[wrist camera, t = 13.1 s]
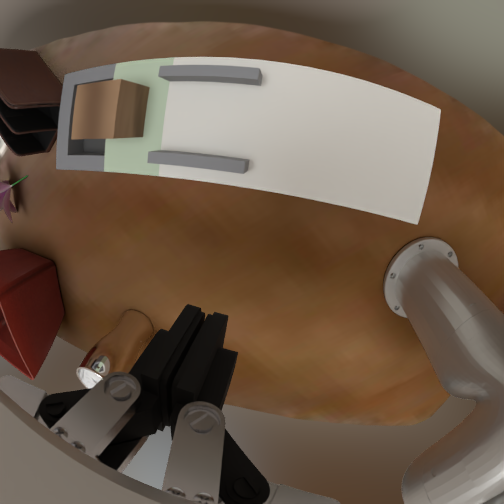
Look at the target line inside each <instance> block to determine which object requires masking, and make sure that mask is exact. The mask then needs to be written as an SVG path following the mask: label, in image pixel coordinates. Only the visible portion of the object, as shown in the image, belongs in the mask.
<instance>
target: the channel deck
mask: <svg viewBox="0 0 504 504" xmlns="http://www.w3.org/2000/svg"><path fill="white" fill-rule="evenodd" d="M117 79H123V80H127V81H130V82H134V83H137V84H141V85H144V86H147V87H150V89H149V95H148V101H147V108H146V116H145V124H144V132H143V137H135V138H117V139H72V140H71V135H72V124H73V114H74V106H75V98H76V92H77V86H78V85H83V84H89V83H95V82H102V81H109V80H117ZM440 113H441V109H438V108H436V107H434V106H432V105H430V104H427V103H425V102H423V101H420V100H418V99H415V98H413V97H410V96H408V95H405V94H403V93H400V92H397V91H395V90H392V89H389V88H386V87H383V86H380V85H377V84H374V83H371V82H367V81H364V80H361V79H357V78H354V77H350V76H346V75H342V74H338V73H334V72H330V71H325V70H321V69H316V68H311V67H305V66H300V65H294V64H288V63H281V62H273V61H265V60H255V59H243V58H226V57H177V58H160V59H148V60H139V61H131V62H123V63H117V64H111V65H105V66H99V67H94V68H90V69H85V70H81V71H76V72H72V73H68V74H65V77H64V83H63V89H62V96H61V103H60V112H59V121H58V134H57V154H56V169H65V170H88V171H105V172H119V173H131V174H143V175H153V176H163V177H172V178H181V179H189V180H197V181H204V182H212V183H219V184H226V185H232V186H239V187H245V188H252V189H258V190H263V191H269V192H275V193H281V194H286V195H291V196H297V197H302V198H307V199H312V200H317V201H322V202H326V203H331V204H336V205H340V206H345V207H349V208H353V209H358V210H362V211H366V212H370V213H374V214H379V215H383V216H386V217H390V218H394V219H398V220H402V221H406V222H409V223H413V224H417V225H418V221H419V218H420V214H421V211H422V207H423V203H424V200H425V196H426V192H427V187H428V183H429V179H430V174H431V169H432V164H433V159H434V154H435V148H436V142H437V136H438V129H439V121H440Z"/></svg>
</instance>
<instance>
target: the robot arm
mask: <svg viewBox="0 0 504 504" xmlns="http://www.w3.org/2000/svg"><path fill="white" fill-rule="evenodd" d="M383 291H384V297H385V299H386V302H387V304H388V305H389V307H390V308H391V310H392V311H393V312H394V313H396V314H397V315H399V316H402V317H405V318H408V319H409V321H410V323H411V325H412V327H413V329H414V330H415V332H416V334H417V336H418V338H419V340H420V342H421V344H422V346H423V348H424V350H425V352H426V354H427V356H428V358H429V360H430V362H431V364H432V366H433V369H434V371H435V373H436V375H437V377H438V379H439V381H440V383H441V385H442V386H443V388H444V389H445V390H446V391H447V392H448V393H449V394H451V395H453V396H455V397H458V398H462V399H470V400H475V401H476V406H475V409H474V410H473V411H472V412H471V413H470V414H469V415H468V416H467V417H466V418H465V419H464V420H463V422H462V423H460V424H459V425H458V426H457V427H455V428H454V429H453V430H452V431H451V432H449V433H448V434H447V435H446V436H444V437H443V438H442V439H440V440H439V441H438V442H436V443H435V444H434V445H432V446H431V447H429V448H428V449H427V450H425V451H424V452H423V453H422V454H420V455H419V456H418V457H417V458H416V459H415V460H414V461H413V462H412V463H411V464H410V466H409V467H408V468H407V470H406V472H405V475H404V477H403V481H402V496H403V500H404V503H405V504H504V315H503V313H502V312H501V311H500V310H499V309H498V308H497V307H496V306H495V305H494V304H493V303H492V302H491V300H490V299H489V298H488V297H487V296H486V295H485V294H484V293H483V292H482V291H481V290H480V289H479V288H478V287H477V286H476V285H475V284H474V283H473V282H472V281H471V280H470V279H469V278H468V277H467V276H466V275H465V274H464V273H463V272H462V271H461V270H460V269H459V268H458V260H457V256H456V254H455V252H454V250H453V249H452V248H451V246H449V245H448V244H447V243H446V242H444V241H443V240H441V239H438V238H435V237H424V238H419V239H417V240H414V241H412V242H410V243H409V244H407V245H406V246H404V247H403V248H402V249H401V250H400V251H399V252H398V253H397V254H396V255H395V257H394V258H393V259H392V261H391V262H390V264H389V266H388V268H387V271H386V273H385V277H384V281H383ZM204 320H205V321H204ZM227 321H228V315H224V314H220V313H217V312H214V314H213V315H211V314H208V315H207V317H206V319H205V313H204V312H201V308H199V307H196V306H192V305H189V304H187V305H186V306H185V308H184V309H183V311H182V312H181V314H180V315H179V317H178V318H177V320H176V321H175V323H174V324H173V326H172V327H171V328H170V330H169V331H166V330H163V329H160V330H159V331H158V332H157V333H156V335H155V336H154V338H153V339H152V340H151V342H150V343H149V345H148V346H147V347H146V349H145V350H144V352H143V353H142V354H141V356H140V357H139V359H138V360H137V362H136V363H135V364H134V366H133V367H132V369H131V370H130V372H129V373H126V372H112V373H109V374H107V375H106V376H105V377H103V378H102V379H101V380H100V381H99V382H98V383H97V384H96V385H95V386H94V387H93V388H89V389H83V390H77V391H71V392H63V393H56V394H51V395H49V394H47V393H46V391H44V390H42V389H39V388H37V387H35V386H32V385H30V384H28V383H26V382H24V381H22V380H19V379H17V378H16V377H14V376H10V375H7V376H4V377H1V378H0V504H340V503H339V502H338V501H337V500H334V499H332V498H328V497H324V496H320V495H316V494H312V493H308V492H305V491H302V490H298V489H295V488H292V487H289V486H285V485H283V484H280V485H277V484H274V483H271V482H269V481H267V480H266V479H265V477H264V476H263V475H262V474H261V473H260V472H259V471H258V469H257V468H256V467H255V466H254V465H253V463H252V462H251V461H250V460H249V459H248V457H247V456H246V455H245V454H244V452H243V451H242V450H241V449H240V448H239V446H238V445H237V444H236V442H235V441H234V440H233V438H232V437H231V436H230V434H229V433H228V432H227V430H226V429H225V424H226V423H225V417H224V415H223V413H222V407H223V404H224V401H225V398H226V395H227V392H228V389H229V385H230V382H231V379H232V375H233V372H234V368H235V364H236V360H237V355H238V352H235V351H231V350H228V349H224V348H223V343H224V338H225V332H226V327H227ZM165 426H171V436H172V445H171V450H170V454H169V459H168V464H167V468H166V472H165V477H164V482H163V487H162V490H159V489H156V488H154V487H152V486H149V485H147V484H144V483H142V482H140V481H137V480H135V479H133V478H131V477H128V476H126V475H124V474H122V472H123V471H124V469H125V468H126V467H127V465H128V464H129V463H130V461H131V460H132V459H133V457H134V456H135V455H136V454H137V452H138V451H139V450H140V448H141V447H142V446H143V444H144V443H145V442H146V440H147V439H148V437H149V435H151V434H155V433H156V431H157V429H158V430H161V431H163V430H164V428H165Z"/></svg>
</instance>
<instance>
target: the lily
mask: <svg viewBox="0 0 504 504" xmlns="http://www.w3.org/2000/svg"><path fill="white" fill-rule="evenodd" d="M26 177H28V176H25V177H23V178H22V179H20V180H19V181H17V182H16V183H14V184H12V185H9V181H2V182H1V181H0V211H1V210H2V209H4V211H5V213H6V215H7V217H8V218H9V220H10V221H11V223H13V222H12V217H11V212H14V213H16V212H17V210H16V208H15V207H14V205H13V204H12V202H11V201H10V191H11V187H12V186H14V185H15V184H17V183H18V182H20V181H21V180H23V179H25V178H26ZM10 211H11V212H10Z"/></svg>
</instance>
